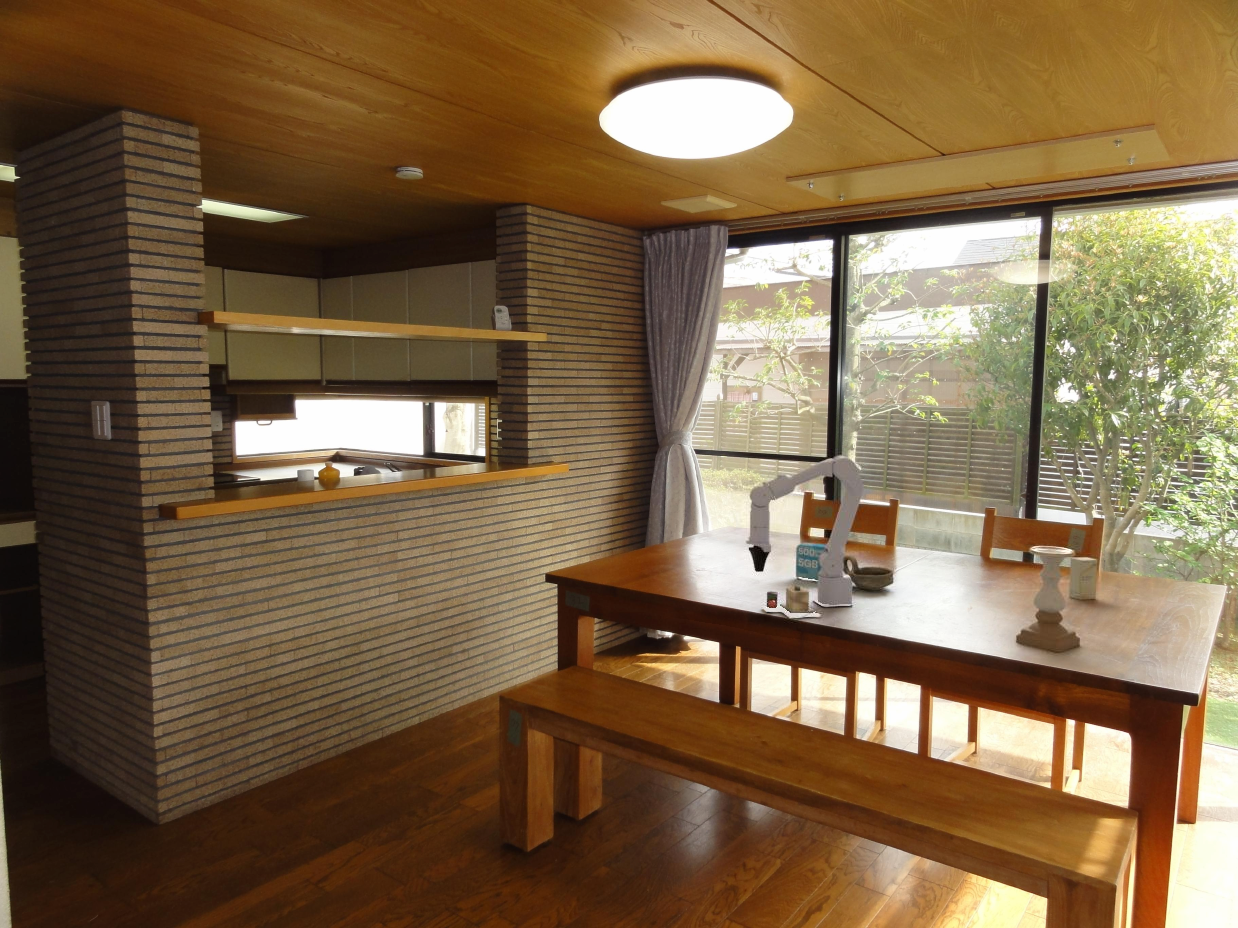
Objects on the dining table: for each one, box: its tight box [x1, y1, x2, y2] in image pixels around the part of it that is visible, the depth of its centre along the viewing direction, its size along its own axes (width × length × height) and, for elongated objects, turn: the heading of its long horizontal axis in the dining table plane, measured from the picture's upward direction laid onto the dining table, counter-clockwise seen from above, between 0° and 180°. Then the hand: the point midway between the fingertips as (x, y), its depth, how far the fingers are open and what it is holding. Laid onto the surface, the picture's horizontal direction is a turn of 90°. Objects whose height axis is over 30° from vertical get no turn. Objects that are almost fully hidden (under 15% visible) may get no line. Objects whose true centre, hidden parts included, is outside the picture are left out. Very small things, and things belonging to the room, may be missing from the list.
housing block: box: [785, 585, 810, 610], centre depth 236 cm, size 5×6×6 cm
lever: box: [766, 591, 778, 608], centre depth 235 cm, size 9×3×4 cm, turn 170°
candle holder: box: [1015, 545, 1081, 654], centre depth 206 cm, size 11×11×24 cm
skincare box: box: [1068, 556, 1098, 601], centre depth 252 cm, size 6×4×12 cm
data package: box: [795, 542, 826, 580], centre depth 275 cm, size 12×4×12 cm, turn 55°
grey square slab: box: [780, 603, 821, 614], centre depth 236 cm, size 13×12×2 cm
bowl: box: [842, 554, 895, 591], centre depth 265 cm, size 14×18×10 cm
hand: (759, 571), depth 247 cm, fingers closed
